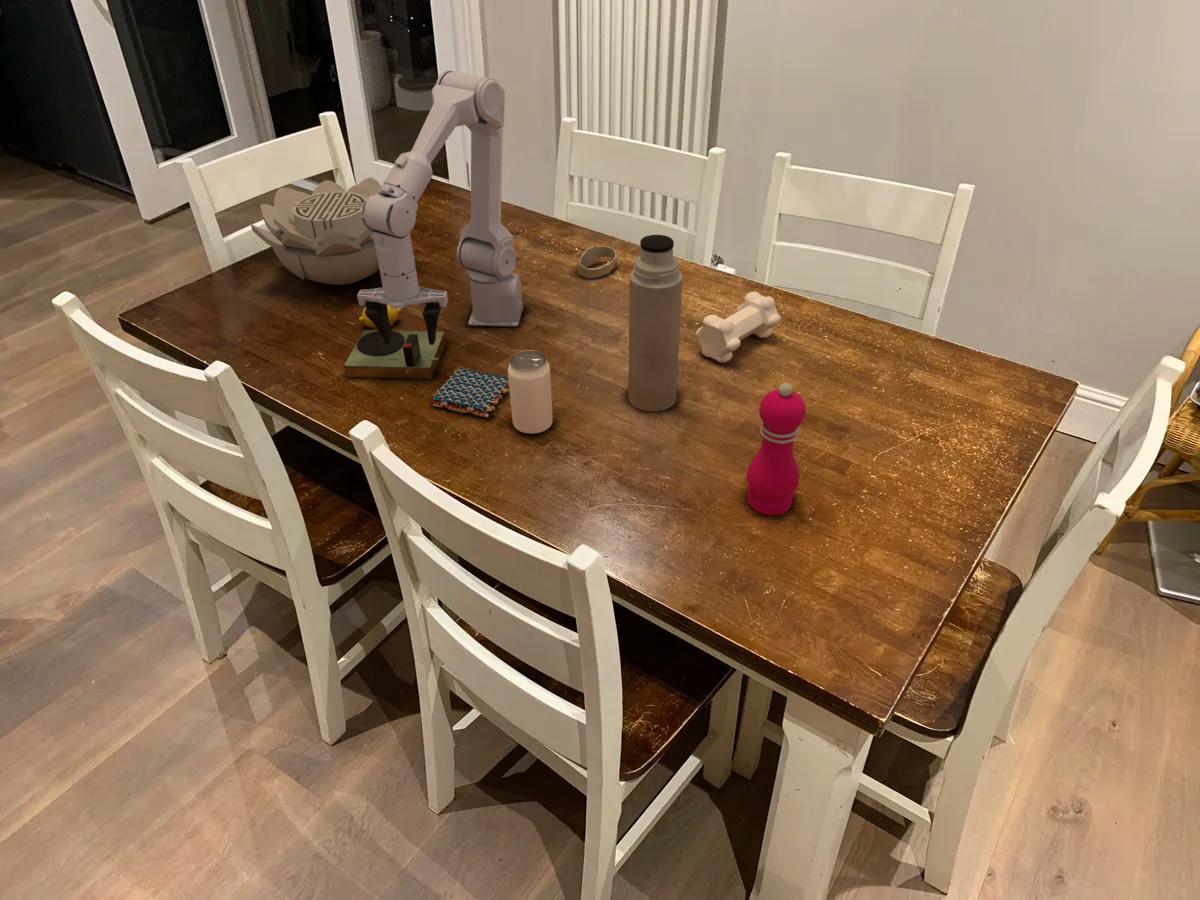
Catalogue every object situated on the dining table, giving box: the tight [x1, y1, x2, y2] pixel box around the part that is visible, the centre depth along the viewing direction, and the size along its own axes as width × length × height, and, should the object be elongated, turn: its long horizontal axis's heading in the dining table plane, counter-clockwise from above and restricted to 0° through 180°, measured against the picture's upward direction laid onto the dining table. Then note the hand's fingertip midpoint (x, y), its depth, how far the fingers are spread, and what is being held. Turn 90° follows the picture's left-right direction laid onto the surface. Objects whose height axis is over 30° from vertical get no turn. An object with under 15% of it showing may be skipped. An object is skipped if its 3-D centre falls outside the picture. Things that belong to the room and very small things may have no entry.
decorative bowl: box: [250, 176, 382, 286], centre depth 176 cm, size 30×30×15 cm
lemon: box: [358, 305, 402, 330], centre depth 162 cm, size 8×4×4 cm, turn 116°
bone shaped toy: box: [694, 291, 782, 364], centre depth 153 cm, size 15×9×8 cm, turn 135°
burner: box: [356, 330, 405, 356], centre depth 153 cm, size 8×8×1 cm
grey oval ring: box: [577, 244, 617, 279], centre depth 178 cm, size 9×6×5 cm
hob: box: [343, 329, 447, 380], centre depth 152 cm, size 16×14×3 cm
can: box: [507, 349, 554, 435], centre depth 134 cm, size 6×6×12 cm
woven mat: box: [432, 366, 510, 419], centre depth 143 cm, size 10×11×2 cm
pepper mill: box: [746, 382, 807, 516], centre depth 116 cm, size 7×7×20 cm
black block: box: [403, 334, 420, 366], centre depth 148 cm, size 5×2×4 cm, turn 176°
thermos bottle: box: [627, 234, 683, 412], centre depth 134 cm, size 8×8×28 cm
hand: (410, 341), depth 147 cm, fingers open, 7 cm apart
